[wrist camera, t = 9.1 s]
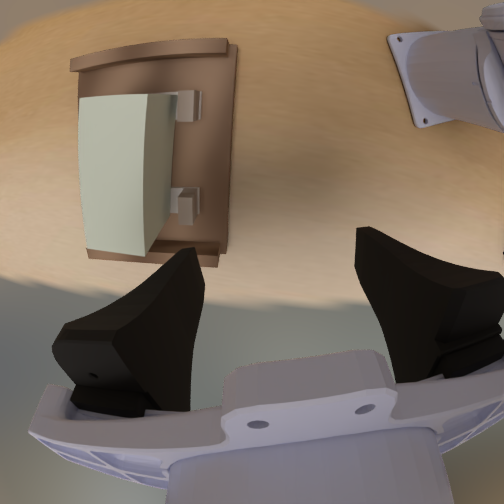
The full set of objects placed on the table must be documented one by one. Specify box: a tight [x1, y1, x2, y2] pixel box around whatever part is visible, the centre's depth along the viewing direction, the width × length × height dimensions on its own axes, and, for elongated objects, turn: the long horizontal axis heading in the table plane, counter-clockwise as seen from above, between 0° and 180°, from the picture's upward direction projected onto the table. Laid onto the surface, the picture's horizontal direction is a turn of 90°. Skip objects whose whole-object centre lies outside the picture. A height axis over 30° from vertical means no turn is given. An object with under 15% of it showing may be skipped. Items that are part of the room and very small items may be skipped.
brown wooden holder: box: [70, 38, 238, 268], centre depth 18 cm, size 12×16×4 cm
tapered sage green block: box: [78, 94, 178, 257], centre depth 16 cm, size 4×9×6 cm, turn 172°
